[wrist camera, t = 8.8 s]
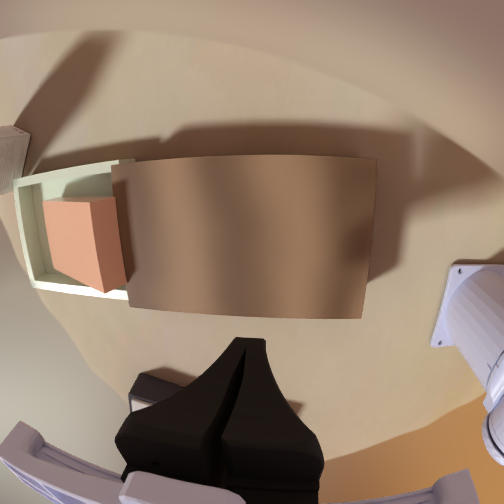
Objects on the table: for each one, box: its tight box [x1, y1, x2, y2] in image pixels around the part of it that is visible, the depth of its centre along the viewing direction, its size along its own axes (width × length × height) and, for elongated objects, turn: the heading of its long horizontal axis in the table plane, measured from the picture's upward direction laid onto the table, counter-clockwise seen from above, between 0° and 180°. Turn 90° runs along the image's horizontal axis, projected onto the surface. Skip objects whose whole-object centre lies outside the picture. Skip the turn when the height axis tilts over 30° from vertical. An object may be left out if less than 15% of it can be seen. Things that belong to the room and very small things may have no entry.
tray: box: [13, 158, 136, 300], centre depth 22 cm, size 13×11×2 cm
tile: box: [42, 196, 127, 294], centre depth 20 cm, size 9×6×2 cm, turn 92°
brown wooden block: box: [111, 155, 377, 319], centre depth 19 cm, size 16×10×4 cm, turn 91°
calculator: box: [128, 373, 183, 413], centre depth 28 cm, size 11×4×15 cm
